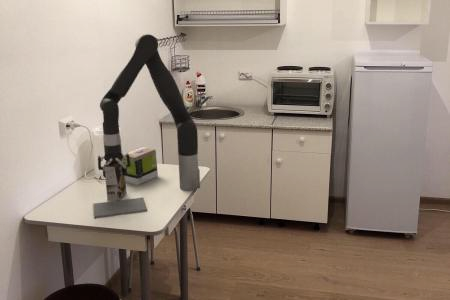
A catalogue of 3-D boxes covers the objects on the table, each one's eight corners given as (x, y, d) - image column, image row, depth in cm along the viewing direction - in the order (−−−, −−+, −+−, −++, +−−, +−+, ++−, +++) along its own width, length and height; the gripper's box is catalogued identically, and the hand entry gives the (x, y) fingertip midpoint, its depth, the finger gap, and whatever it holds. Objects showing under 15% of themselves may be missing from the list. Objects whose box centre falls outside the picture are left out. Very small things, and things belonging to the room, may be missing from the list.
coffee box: (120, 200, 220) (117, 166, 215) (106, 199, 221) (103, 166, 216) (127, 192, 228) (124, 160, 224) (114, 192, 229) (111, 159, 224)
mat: (143, 198, 221) (143, 197, 221) (147, 211, 208) (147, 209, 208) (93, 205, 215) (93, 203, 215) (94, 218, 202) (94, 216, 202)
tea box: (144, 173, 254) (142, 146, 250) (158, 176, 248) (156, 149, 244) (122, 181, 242) (120, 153, 238) (137, 185, 237) (134, 157, 232)
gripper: (127, 139, 222) (130, 172, 227) (95, 141, 218) (98, 175, 223) (129, 143, 215) (131, 177, 220) (96, 146, 211) (99, 181, 216)
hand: (115, 176), depth 222 cm, fingers closed on coffee box, 8 cm apart
